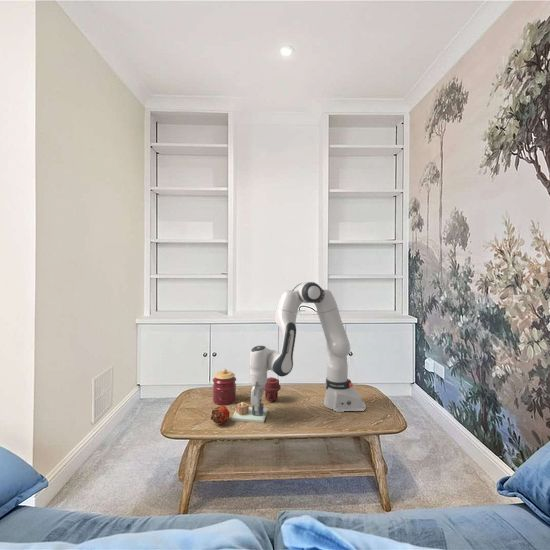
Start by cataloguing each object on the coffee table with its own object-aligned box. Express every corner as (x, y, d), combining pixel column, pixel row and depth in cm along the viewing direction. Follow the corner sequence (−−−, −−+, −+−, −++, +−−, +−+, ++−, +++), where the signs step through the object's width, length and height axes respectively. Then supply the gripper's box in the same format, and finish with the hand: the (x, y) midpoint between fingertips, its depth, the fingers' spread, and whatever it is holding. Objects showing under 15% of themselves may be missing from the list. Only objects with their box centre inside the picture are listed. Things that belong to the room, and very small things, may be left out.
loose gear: (263, 411, 166) (263, 402, 165) (262, 416, 161) (262, 407, 160) (254, 410, 166) (254, 402, 166) (252, 415, 161) (252, 406, 161)
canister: (208, 403, 178) (208, 371, 177) (219, 394, 190) (219, 364, 189) (229, 406, 174) (229, 374, 173) (239, 397, 186) (240, 366, 185)
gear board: (267, 410, 169) (267, 399, 169) (263, 422, 156) (263, 410, 156) (237, 408, 171) (237, 396, 171) (231, 420, 159) (231, 407, 158)
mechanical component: (280, 396, 187) (280, 404, 177) (263, 396, 187) (262, 403, 177) (280, 375, 187) (280, 382, 177) (263, 375, 187) (262, 381, 177)
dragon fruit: (216, 432, 150) (220, 423, 162) (231, 421, 151) (234, 412, 163) (206, 416, 151) (210, 409, 163) (221, 405, 152) (224, 398, 164)
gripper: (260, 387, 152) (260, 416, 153) (267, 372, 172) (267, 398, 173) (247, 386, 153) (247, 415, 153) (255, 371, 173) (255, 397, 174)
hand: (258, 406), depth 163 cm, fingers open, 8 cm apart
